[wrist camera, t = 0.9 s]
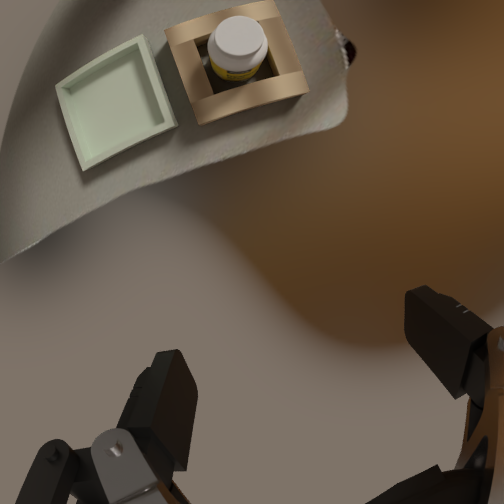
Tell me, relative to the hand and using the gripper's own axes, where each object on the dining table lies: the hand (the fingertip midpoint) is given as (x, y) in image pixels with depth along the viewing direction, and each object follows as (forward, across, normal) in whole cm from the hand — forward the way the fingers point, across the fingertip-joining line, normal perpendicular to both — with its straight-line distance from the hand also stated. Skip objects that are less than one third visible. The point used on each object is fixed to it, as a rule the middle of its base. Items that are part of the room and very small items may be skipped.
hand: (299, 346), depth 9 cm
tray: (+23, +12, -18) cm, 32 cm away
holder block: (+23, -2, -19) cm, 30 cm away
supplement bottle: (+23, -2, -19) cm, 30 cm away
